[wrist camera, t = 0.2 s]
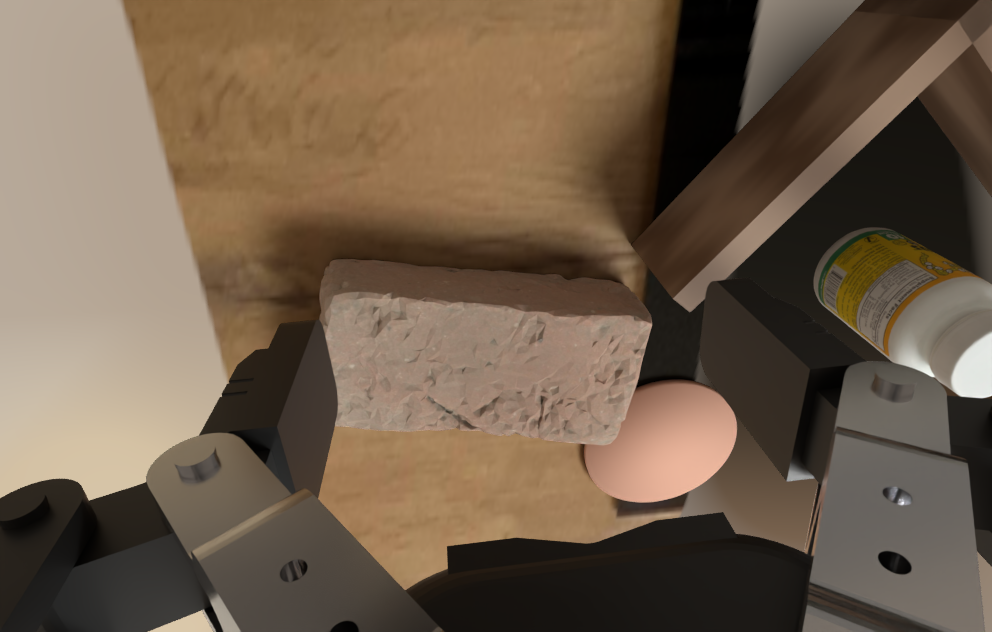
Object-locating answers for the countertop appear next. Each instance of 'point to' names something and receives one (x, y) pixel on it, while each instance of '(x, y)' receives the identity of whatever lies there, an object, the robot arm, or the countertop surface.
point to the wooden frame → (829, 133)
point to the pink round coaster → (665, 442)
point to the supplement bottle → (911, 306)
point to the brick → (481, 350)
